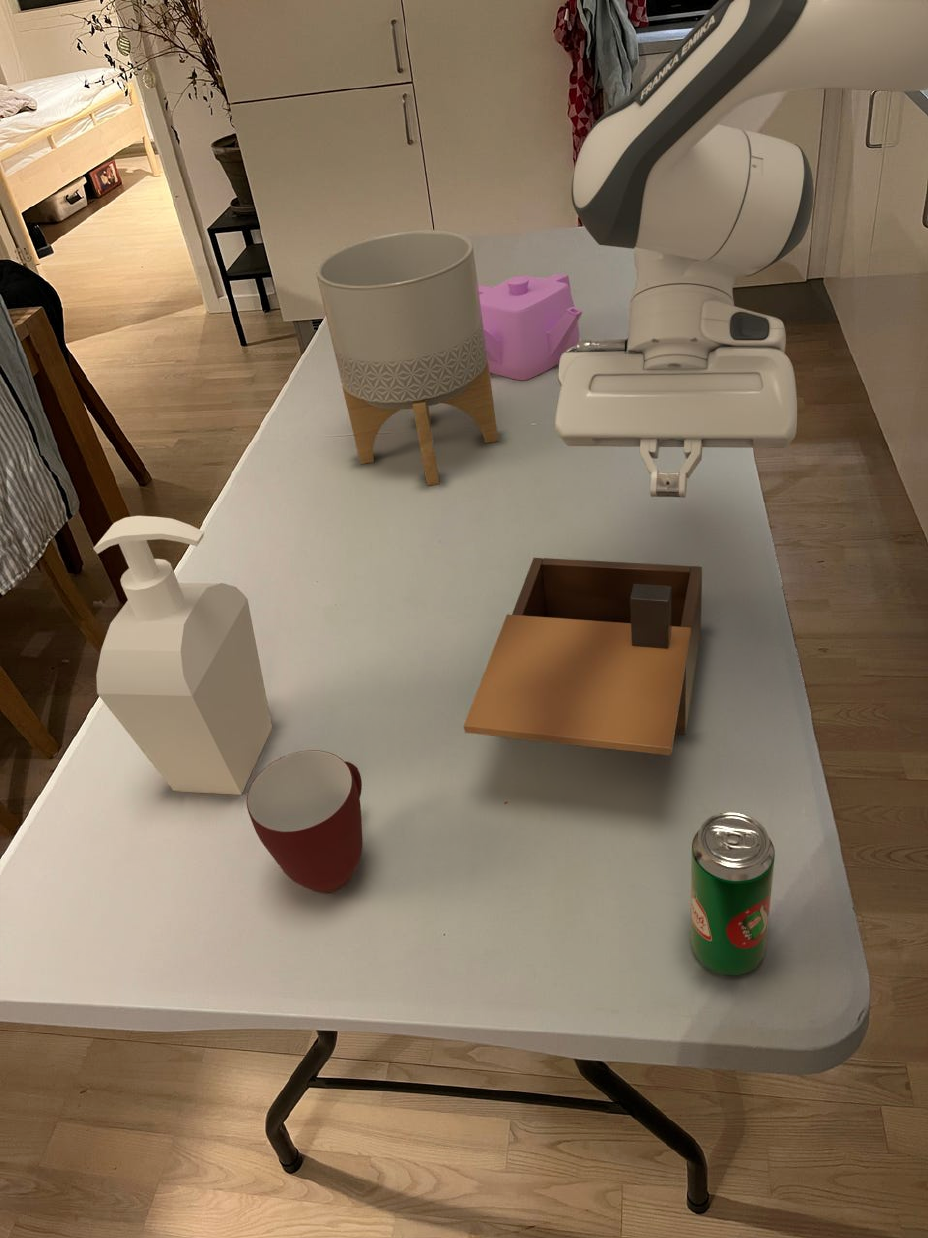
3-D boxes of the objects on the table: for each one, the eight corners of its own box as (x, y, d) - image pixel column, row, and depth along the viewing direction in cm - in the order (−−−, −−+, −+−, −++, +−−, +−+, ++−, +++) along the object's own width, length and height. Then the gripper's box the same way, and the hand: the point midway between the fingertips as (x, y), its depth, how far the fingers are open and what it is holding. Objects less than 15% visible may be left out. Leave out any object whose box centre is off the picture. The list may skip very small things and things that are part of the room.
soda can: (688, 914, 70) (690, 806, 63) (761, 917, 69) (771, 807, 62) (692, 978, 66) (693, 871, 59) (768, 982, 65) (780, 873, 58)
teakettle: (573, 329, 155) (568, 251, 148) (587, 373, 142) (582, 290, 134) (469, 344, 156) (458, 268, 149) (473, 390, 143) (461, 308, 135)
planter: (359, 429, 138) (317, 245, 122) (490, 407, 138) (465, 220, 122) (360, 497, 123) (313, 297, 107) (506, 472, 123) (480, 268, 107)
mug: (314, 804, 84) (285, 722, 77) (401, 815, 81) (379, 731, 75) (263, 907, 76) (227, 825, 70) (358, 923, 73) (329, 840, 67)
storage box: (700, 632, 94) (702, 566, 89) (685, 735, 84) (686, 667, 79) (540, 620, 99) (533, 557, 94) (507, 717, 89) (497, 651, 84)
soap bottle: (261, 814, 83) (162, 573, 67) (155, 808, 86) (36, 574, 70) (304, 713, 93) (226, 481, 77) (208, 710, 95) (113, 484, 79)
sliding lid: (690, 634, 81) (691, 579, 78) (671, 755, 71) (670, 699, 68) (507, 621, 86) (500, 568, 83) (464, 732, 76) (454, 678, 72)
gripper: (553, 327, 84) (540, 484, 82) (804, 320, 78) (793, 489, 76) (567, 354, 90) (555, 500, 88) (800, 349, 84) (790, 506, 82)
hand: (667, 495), depth 82 cm, fingers closed
